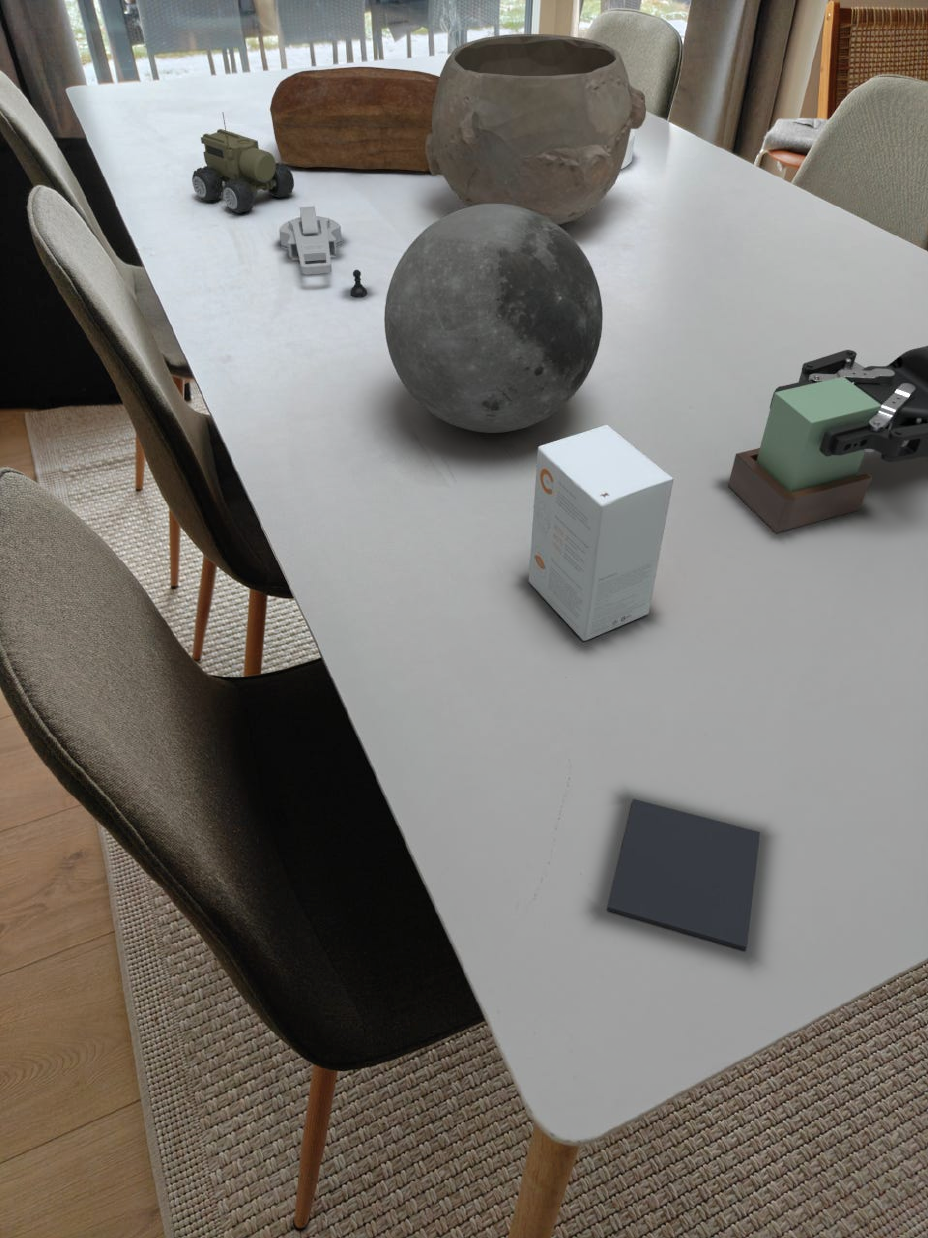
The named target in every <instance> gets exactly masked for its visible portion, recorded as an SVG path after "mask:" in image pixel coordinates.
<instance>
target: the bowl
mask: <svg viewBox="0 0 928 1238" xmlns="http://www.w3.org/2000/svg"><path fill="white" fill-rule="evenodd" d="M439 77H440V78H439V82H438V86H437V90H436V94H435V98H434V102H433V113H432V131H433V134H429V135H428V137H427V140H426V156H427V159H428V163H429V168H430V171H429V172H430V173H431V175H432V176H434V177H437V176H442V177H443V178H444V180H445V181H446V183H447V184H448V186H449V187H450V189H451V190H452V191H453V192H454V193H455V194H456V195H457V196H458V198H459V199H460V201H461V202H462V203H463V204H464V205H465V206H466V208H467V207H471V206H475V205H482V204H507V205H514V206H518V207H522V208H526V209H529V210H531V211H534V212H536V213H539V214H541V215H543V216H544V217H546V218H548V219H550V220H551V221H553V222H554V223H556V224H557V225H558V226H560V225H563V224H567V223H571V222H573V221H576V220H578V219H579V218H581V217H582V216H584V215H585V214H586V213H587V212H589V210H591V209H592V208H594V207H595V206H597V204H599V203H600V202H601V201H602V200H603V199H604V197H605V196H606V195H607V194H608V193H609V191H610V190H611V189H612V188H613V186H615V184H616V181H617V180H618V177H619V176H620V172H621V170H622V169H621V167H622V164H623V161H624V158H625V154H626V150H627V145H628V141H629V136H630V132H631V129H634V130H638V129H639V128H641V127H642V126H643V124H644V122H645V120H646V117H647V116H646V115H647V106H646V95H645V94H644V92H643V91H642V90H639V89H637V88H635V87H633V86H632V84H631V83H630V81H629V74H628V72H627V69H626V65H625V63H624V60H623V57H622V55H621V53H620V52H619V50H616V49H614V48H613V47H611V46H609V45H607V44H605V43H602V42H599V41H596V40H592V39H589V38H585V37H584V38H583V37H577V36H572V35H571V36H570V35H561V34H551V33H550V34H549V33H512V34H511V33H510V34H502V35H494V36H486V37H481V38H478V39H475V40H471V41H467V42H465V43H463V44H461V45H459V46H457V47H455V48H454V49H453V51H451V53H450V55H449V56H448V57H447V58H446V61H445V63H444V65H443V67H442V69H441V72H440V74H439Z"/></svg>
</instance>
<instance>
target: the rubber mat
mask: <svg viewBox="0 0 928 1238" xmlns="http://www.w3.org/2000/svg"><path fill="white" fill-rule="evenodd" d="M759 842H760V831H758V830H755V829H750V828H746V827H743V826H739V825H735V824H732V823H727V822H723V821H719V820H715V819H713V818H712V819H711V818H709V817H705V816H701V815H697V814H693V813H690V812H685V811H681V810H679V809H678V810H677V809H674V808H670V807H667V806H662V805H659V804H655V803H651V802H647V801H643V800H639V799H635V798H633V799H632V802H631V806H630V809H629V815H628V819H627V824H626V828H625V832H624V836H623V840H622V844H621V849H620V853H619V858H618V862H617V866H616V871H615V875H614V879H613V883H612V887H611V891H610V897H609V900H608V905H607V911H609V912H613V913H616V914H619V915H623V916H627V917H629V918H633V919H636V920H640V921H643V922H647V923H649V924H654V925H656V926H661V927H664V928H667V929H670V930H674V931H678V932H681V933H684V934H687V935H691V936H695V937H698V938H702V939H705V940H708V941H712V942H715V943H719V944H722V945H726V946H729V947H732V948H736V949H740V950H743V951H746V950H747V946H748V939H749V931H750V923H751V922H750V921H751V914H752V904H753V894H754V888H755V887H754V886H755V877H756V869H757V860H758V853H759V852H758V851H759V844H760V843H759Z"/></svg>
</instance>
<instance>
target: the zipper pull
mask: <svg viewBox="0 0 928 1238" xmlns="http://www.w3.org/2000/svg"><path fill="white" fill-rule="evenodd" d="M299 212H300V216H299V217H295V218H292V219H290V220H287V221H286V222H284V223H283V224H282V225H281V226H280V227H279V228H278V232H279V239H280V246H281V247H280V248H282V249H284V250H288V256H289V260H290V261H293V262H294V261H299V265H300V269H301V274H303V275H319V274H320V275H321V274H330V273H332V271H333V270H332V262H331V261H332V260H331V259H335V258H337V257H338V246H341V245H342V243H343V241H342V228H341V224H340V223H339V222H337V221H335V220H334V219H331V218H330V217H324V216H320V215H317V212H316V207H315V206H300V207H299ZM313 261H315V262H316V261H326V262H324V263H322V262H321V263H319V262H318V263H307V264H306V262H313Z"/></svg>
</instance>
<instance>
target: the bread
mask: <svg viewBox="0 0 928 1238" xmlns="http://www.w3.org/2000/svg"><path fill="white" fill-rule="evenodd" d="M439 78H440V75H436V74H432V73H428V72H425V71H421V70H411V69H400V68H387V67H376V66H348V67H335V68H325V69H309V70H302V71H298V72H296V73H293V74H292V75H289V76H287V77H286V78H284V79H282V80H281V81H279V84H278V85H277V87H276V88H275V90H274V93H273V95H272V97H271V102H270V106H269V112H270V117H271V123H272V129H273V134H274V139H275V144H276V148H277V150H278V154H279V157H280V160H281V161H282V162H283V164H284V165H289V166H292V167H299V168H305V169H307V168H337V169H338V168H339V169H341V168H342V169H343V168H344V169H355V170H403V171H414V172H430V168H429V163H428V159H427V156H426V140H427V137H428V135H429V134H433V131H432V113H433V102H434V98H435V94H436V90H437V86H438V82H439Z"/></svg>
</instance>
